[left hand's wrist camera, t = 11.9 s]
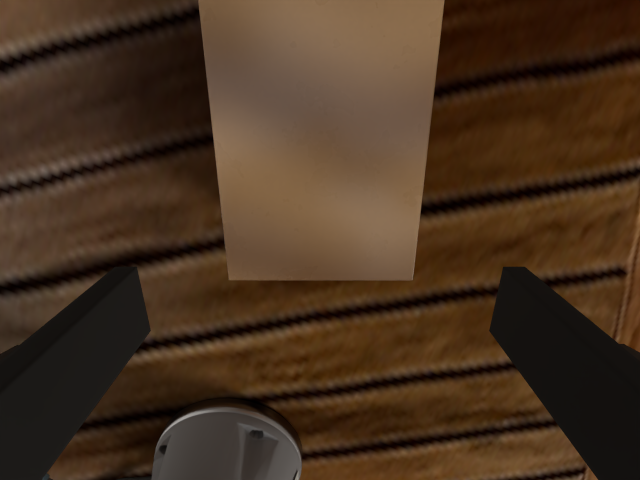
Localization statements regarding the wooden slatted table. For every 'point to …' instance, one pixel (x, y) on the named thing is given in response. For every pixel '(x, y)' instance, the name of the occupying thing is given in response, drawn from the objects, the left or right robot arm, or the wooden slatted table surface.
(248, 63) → the cabinet
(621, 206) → the wooden slatted table surface
